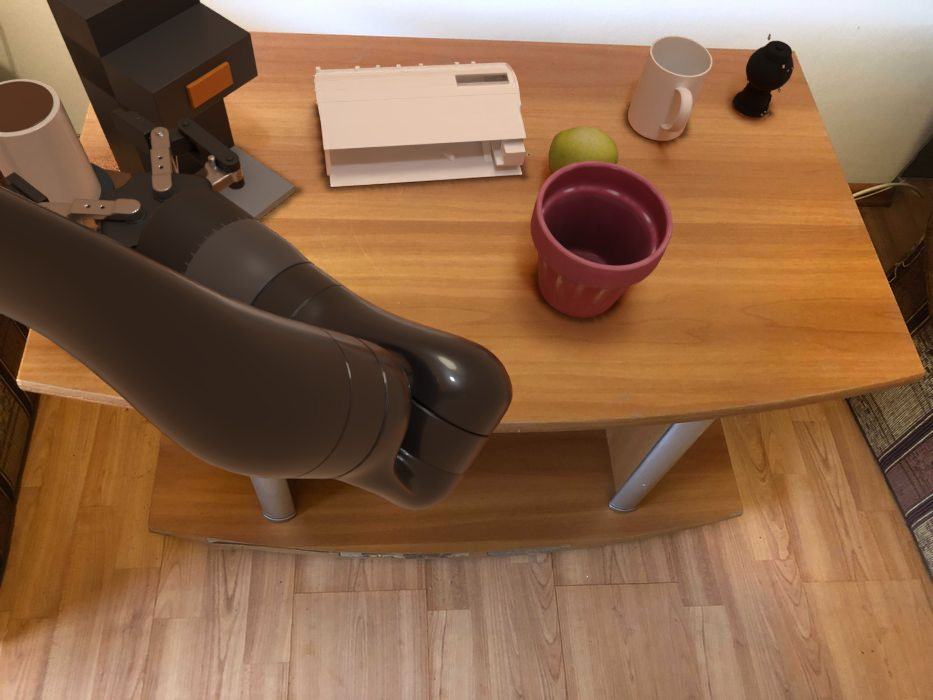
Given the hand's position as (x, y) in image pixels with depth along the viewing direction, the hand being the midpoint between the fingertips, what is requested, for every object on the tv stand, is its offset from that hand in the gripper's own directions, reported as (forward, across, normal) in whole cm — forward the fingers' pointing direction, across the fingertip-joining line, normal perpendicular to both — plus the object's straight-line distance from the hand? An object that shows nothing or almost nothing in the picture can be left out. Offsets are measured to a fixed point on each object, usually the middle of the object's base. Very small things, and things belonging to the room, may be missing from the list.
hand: (67, 150), depth 52 cm
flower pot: (-28, -35, +28) cm, 53 cm away
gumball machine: (-29, -78, +28) cm, 88 cm away
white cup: (+5, 0, +8) cm, 10 cm away
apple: (-19, -49, +28) cm, 59 cm away
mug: (-22, -64, +28) cm, 73 cm away
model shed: (+1, -41, +28) cm, 50 cm away
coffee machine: (+14, -19, +28) cm, 36 cm away
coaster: (+5, 0, +9) cm, 10 cm away
